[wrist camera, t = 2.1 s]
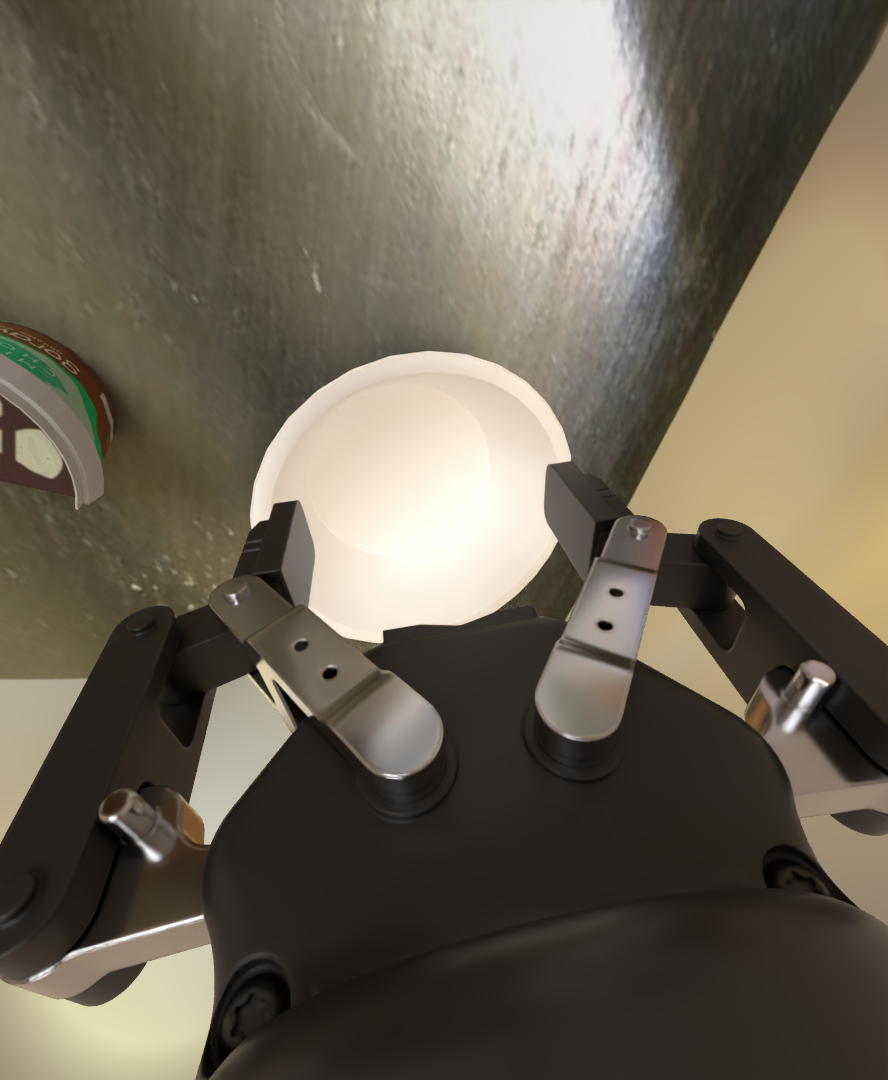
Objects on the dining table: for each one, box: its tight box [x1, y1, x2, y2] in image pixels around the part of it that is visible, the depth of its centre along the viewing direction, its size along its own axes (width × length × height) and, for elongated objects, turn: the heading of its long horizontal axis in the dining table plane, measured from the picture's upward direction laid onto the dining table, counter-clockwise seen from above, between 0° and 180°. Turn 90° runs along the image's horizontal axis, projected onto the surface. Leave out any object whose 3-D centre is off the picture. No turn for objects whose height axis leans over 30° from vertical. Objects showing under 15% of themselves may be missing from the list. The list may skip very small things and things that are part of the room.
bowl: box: [250, 351, 571, 643], centre depth 34 cm, size 22×22×8 cm
